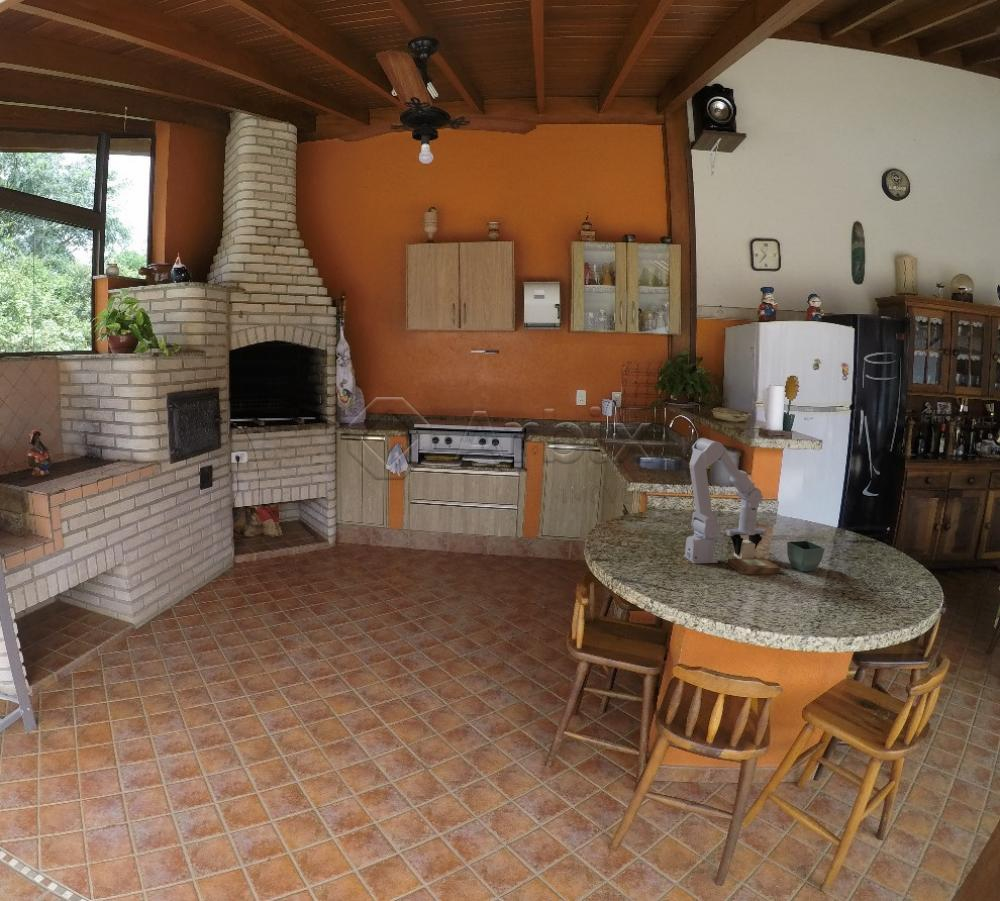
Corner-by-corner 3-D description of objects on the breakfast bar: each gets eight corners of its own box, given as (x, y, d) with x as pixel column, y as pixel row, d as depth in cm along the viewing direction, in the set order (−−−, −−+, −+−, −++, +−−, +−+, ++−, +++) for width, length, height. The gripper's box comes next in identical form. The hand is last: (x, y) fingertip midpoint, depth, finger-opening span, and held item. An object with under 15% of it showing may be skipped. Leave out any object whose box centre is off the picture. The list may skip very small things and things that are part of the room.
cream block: (741, 560, 229) (742, 544, 228) (733, 555, 234) (735, 540, 233) (753, 559, 230) (755, 544, 229) (746, 555, 235) (747, 539, 234)
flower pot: (801, 574, 217) (804, 549, 215) (783, 565, 225) (786, 541, 224) (822, 572, 219) (825, 548, 218) (804, 564, 228) (807, 540, 226)
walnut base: (742, 574, 215) (743, 568, 215) (727, 564, 225) (727, 558, 224) (779, 573, 217) (780, 567, 217) (762, 563, 227) (763, 557, 227)
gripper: (735, 521, 224) (731, 558, 227) (772, 521, 227) (768, 557, 229) (725, 516, 231) (721, 551, 234) (761, 515, 234) (757, 550, 236)
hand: (744, 554), depth 232 cm, fingers closed on cream block, 5 cm apart
